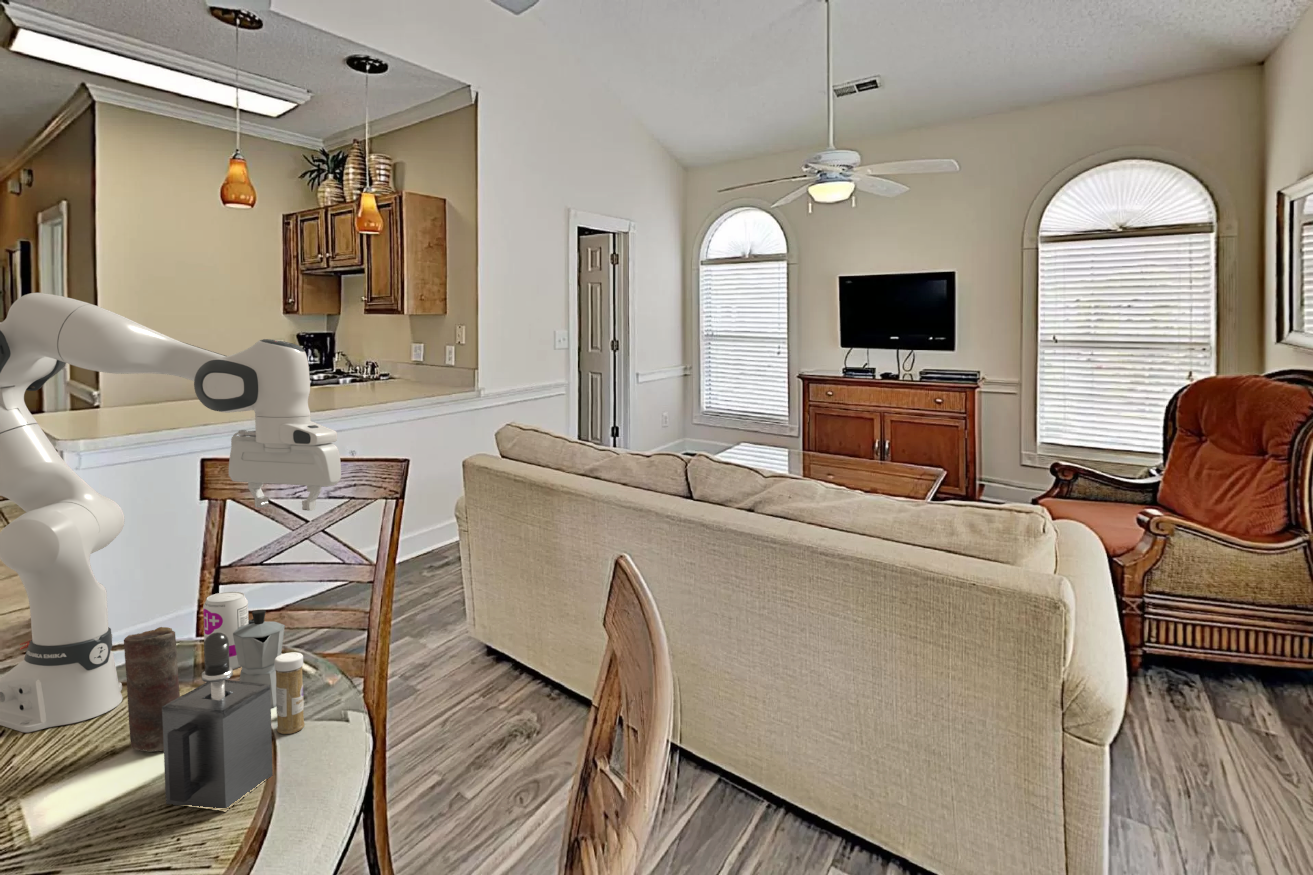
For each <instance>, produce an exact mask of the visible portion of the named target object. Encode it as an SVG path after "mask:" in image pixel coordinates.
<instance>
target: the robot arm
mask: <svg viewBox="0 0 1313 875" xmlns="http://www.w3.org/2000/svg"><path fill="white" fill-rule="evenodd" d="M8 309H9V310H8V312H7V316H6V318H5V319H4V320H3V321H0V496H1V497H3V498H5V499H8V500H10V501H11V502H13V503H14V504H15V505H17V506H18V507H19V508H21V509H22V510H23V511H24V512H25V513H23V514H21V515H20V516H18V517H16V518H15V519H13V520H12V521H11V522H9V523H8V524H7V525H6V526H5V527H3V528H2V530H0V561H1V562H2V563H3V564H4V565H5V566H6V567H7V568H9V569H10V570H12V571H14V572H16V574H17V575H18V577H19V579H20V581H21V583H22V584H23V587H24V590H25V593H26V595H27V599H28V605H29V614H30V626H31V639H30V640H27V641H24V642H21V643H19V646H22V647H20V648H19V650H25V649H26V652H25V656H24V659H23V660H22V661H20V662H19V663H18V664H17V665H15V666H14V667H12V668H11V669H10V670H9V671H8V672H6V673H5V674H3V675H2V676H0V726H3V727H6V728H9V729H12V730H15V731H17V732H22V733H31V732H36V731H40V730H43V729H47V728H51V727H58V726H65V725H70V724H75V723H79V722H84V721H86V720H90V719H92V718H95V717H96V718H97V717H98V716H101V715H103V714H105V713H108V712H109V711H111V710H113V709H115V708H116V707H118V706H119V705H120V704H121V702H122V701H123V699H124V698H123V695H122V693H121V691H122V690H123V685H122V682H121V681H119V680H118V678H119V677H118V673H117V667H116V661H115V655H114V652H113V651H112V648H113V634H112V628H111V627H110V626H109V614H108V613H109V611H108V593H107V589H106V587H105V586H104V585H103V584H102V583H100V582H98V580H97V578H96V577H95V575H94V574H95V573H94V572H93V569H92V566H91V563H90V559H91V554H93V553H96V552H98V551H101V550H102V549H104V548H106V547H107V546H108V545H110V544H111V543H112V542H113V541H114V540H115V539H116V538H117V537H118V536H119V535H120V533H121V532H122V530H123V528H124V526H125V514H124V512H123V509H122V508H121V506H120V505H119V504H118V503H117V502H116V501H115V500H113V499H111V498H110V497H107V496H106V495H105V496H104V495H102V494H101V493H99V492H98V491H96V490H95V489H94V488H93V487H92V486H91V485H90V484H88V483H87V482H86V481H84V479H83V478H82V477H80V476H79V475H78V474H77V473H76V472H75V471H74V470H73V469H72V468H71V467H70V466H69V465H68V463H66V461H65V460H64V459H63V458H62V457H61V456H60V453H59V452H58V451H57V450H56V448H55V447H54V445H53V444H52V442H51V441H50V440H49V438H48V437H47V435H46V434H45V432H44V430H43V429H42V428H41V426H40V425H39V423H38V421H37V420H36V419H35V417H34V415H33V414H32V413H31V411H30V410H29V409H28V407H27V404H26V402H25V393H26V391H30V392H35V391H36V392H37V391H38V390H40V389H41V388H42V387H43V386H44V385H45V384H46V383H47V381H49V380H50V379H52V378H53V377H55V376H56V375H57V374H59V373H60V371H61V370H63V369H64V367H65V365H66V364H67V365H71V366H73V367H77V368H79V369H84V370H89V371H94V372H99V373H105V374H106V373H107V374H114V375H115V374H116V375H117V374H118V375H119V374H120V375H122V374H124V375H125V374H128V375H129V374H130V375H131V374H137V375H138V374H156V375H157V374H158V375H167V376H168V375H169V376H174V377H179V378H183V379H186V380H190V381H193V386H194V393H195V395H196V398H197V399H198V400H199V402H200V404H202V405H203V406H204V407H205V408H207V409H209V410H211V411H215V412H220V413H239V412H240V413H241V412H242V413H243V412H247V411H254V419H255V420H254V421H255V424H254V425H255V426H254V427H255V430H245V429H241V430H237V432H235V433H234V434H233V435H232V436H231V439H230V441H231V446H230V453H229V459H228V460H229V461H228V477H229V478H230V479H231V481H232V482H241V483H242V482H243V483H247V486H248V487H247V489H248V490H249V492H250V493H251V495H252V497H253V499H254V507H255V508H267V507H268V506H269V504H270V503H269V500H270V499H269V496H265V494H264V492H263V490H262V487H264V484H271V485H272V484H273V485H287V486H288V485H290V486H306V492H308V496H307V498H306V499H304V500H302V501H301V505H302V507H301V509H302V511H309V512H310V511H315V509H316V503H317V502H316V500H317V499H318V497H319V495H320V494H321V492H322V487H324V488H326V487H331V486H335V485H338V483H339V482H340V481H341V478H342V465H341V464H342V462H341V454H340V451H339V447H338V446H337V445H336V444H335V442H337V441H338V432H337V431H336V430H335V429H332V428H330V427H327V426H324V425H322V424H319V423H317V422H315V421H312V419H311V416H312V414H311V410H310V407H309V397H310V393H311V377H310V366H309V360H308V356H307V353H306V351H305V350H304V348H302V347H301V346H300V345H298V344H296V343H292V342H288V341H283V340H275V339H270V338H267V339H265V338H264V339H259V340H258V341H257V342H255V344H253V345H251V346H250V347H248V348H246V349H244V350H242V351H239V352H236V353H233V354H230V355H225V354H221V353H219V352H215V351H213V350H208V349H205V348H202V347H199V346H196V345H194V344H193V345H192V344H191V343H190V344H189V343H186V342H184V341H181V340H177V339H175V338H173V337H171V336H168V335H166V334H164V333H162V332H159V331H156V330H154V329H152V328H151V327H148V326H145V325H143V324H141V323H139V322H136V321H134V320H132V319H130V318H128V317H126V316H123V315H121V314H119V313H116V312H114V311H112V310H109V309H106V308H104V307H102V306H98V305H95V304H92V303H89V302H87V301H82V300H78V299H75V298H71V297H66V296H62V295H58V294H57V295H56V294H52V293H43V292H31V293H27V294H24V295H22V296H20V297H19V298H17V299H16V300H15V301H14V302H13V303H12V304H11V305H10V308H8ZM23 645H24V646H23Z"/></svg>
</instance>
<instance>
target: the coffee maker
mask: <svg viewBox="0 0 1313 875" xmlns="http://www.w3.org/2000/svg"><path fill="white" fill-rule="evenodd" d="M266 612H267V611H266V609H257V610H253V611H252V612H251V614H252V619H248V623H249V624H248V625H245V626H242V627H239V628H238V629H237V630H236V631H235V632H234V633H233V638H234V643H235V648H236V654H237V659H238V664H239V665H240V666H241V670H240V674H239V681H242V682H251V683H260V684H269V685H270V694H271V709H274V708H277V707H276V671H275V658H276V657H277V656H279V655H281V654H282V650H283V643H284V634H285V627H286V625H285V624H283V623H280V622H277V621H265V619H266V618H265V617H266Z"/></svg>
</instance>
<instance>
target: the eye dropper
mask: <svg viewBox="0 0 1313 875" xmlns="http://www.w3.org/2000/svg"><path fill="white" fill-rule="evenodd" d="M203 654H204V660H203V661H204V671H202V672H201V681H203V682H205V683H206V682H211V700H219V701H220V700H221V699H223V698H225V680H229V679H230V678H232V677H233V676H234V672H233V671H234V669H232V668H231V667H229V640H228V637H227V636H226V635H225V634H223V633H220V632H216V633H212V634H210V635H209V636H208V637H207V638H206V639H205V642H204V641H203Z"/></svg>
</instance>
